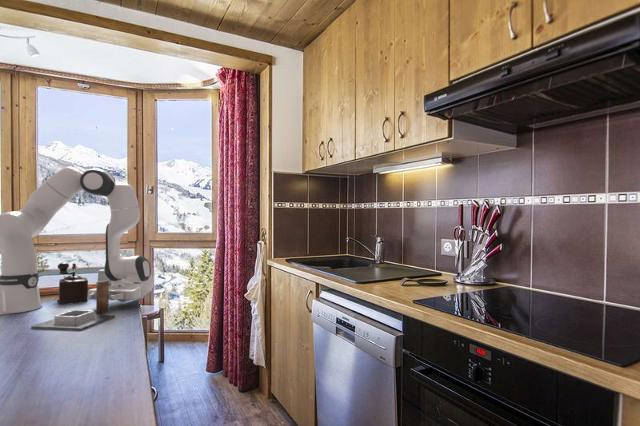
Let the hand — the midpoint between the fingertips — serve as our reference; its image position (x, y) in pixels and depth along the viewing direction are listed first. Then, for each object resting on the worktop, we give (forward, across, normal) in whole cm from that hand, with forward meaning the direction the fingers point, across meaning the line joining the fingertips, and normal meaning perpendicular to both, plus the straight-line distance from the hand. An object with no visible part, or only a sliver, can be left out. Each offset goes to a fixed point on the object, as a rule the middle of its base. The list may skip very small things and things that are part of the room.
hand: (100, 297), depth 138 cm
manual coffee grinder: (-16, -26, +6) cm, 31 cm away
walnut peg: (-1, 0, +6) cm, 6 cm away
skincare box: (-30, -21, +6) cm, 37 cm away
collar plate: (+12, 0, +6) cm, 14 cm away
